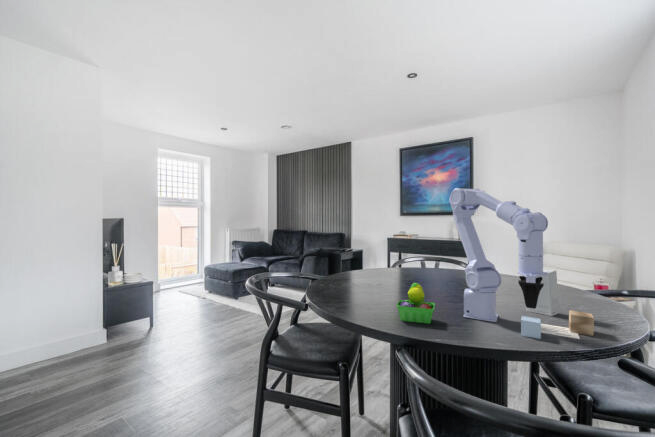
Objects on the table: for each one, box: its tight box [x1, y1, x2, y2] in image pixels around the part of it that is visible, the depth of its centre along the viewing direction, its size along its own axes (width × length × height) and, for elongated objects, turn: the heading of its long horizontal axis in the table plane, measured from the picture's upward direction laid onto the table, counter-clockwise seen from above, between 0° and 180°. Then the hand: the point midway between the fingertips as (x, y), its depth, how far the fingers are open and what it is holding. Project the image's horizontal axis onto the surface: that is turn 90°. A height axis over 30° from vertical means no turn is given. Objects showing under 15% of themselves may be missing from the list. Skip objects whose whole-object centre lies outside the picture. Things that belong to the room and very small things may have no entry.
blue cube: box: [520, 315, 542, 340], centre depth 85 cm, size 4×4×4 cm
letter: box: [541, 323, 581, 340], centre depth 89 cm, size 12×9×1 cm
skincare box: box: [525, 268, 560, 317], centre depth 106 cm, size 8×6×15 cm
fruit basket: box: [396, 282, 436, 325], centre depth 99 cm, size 11×9×11 cm
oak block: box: [568, 309, 595, 337], centre depth 88 cm, size 5×5×5 cm
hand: (530, 304), depth 85 cm, fingers open, 7 cm apart
